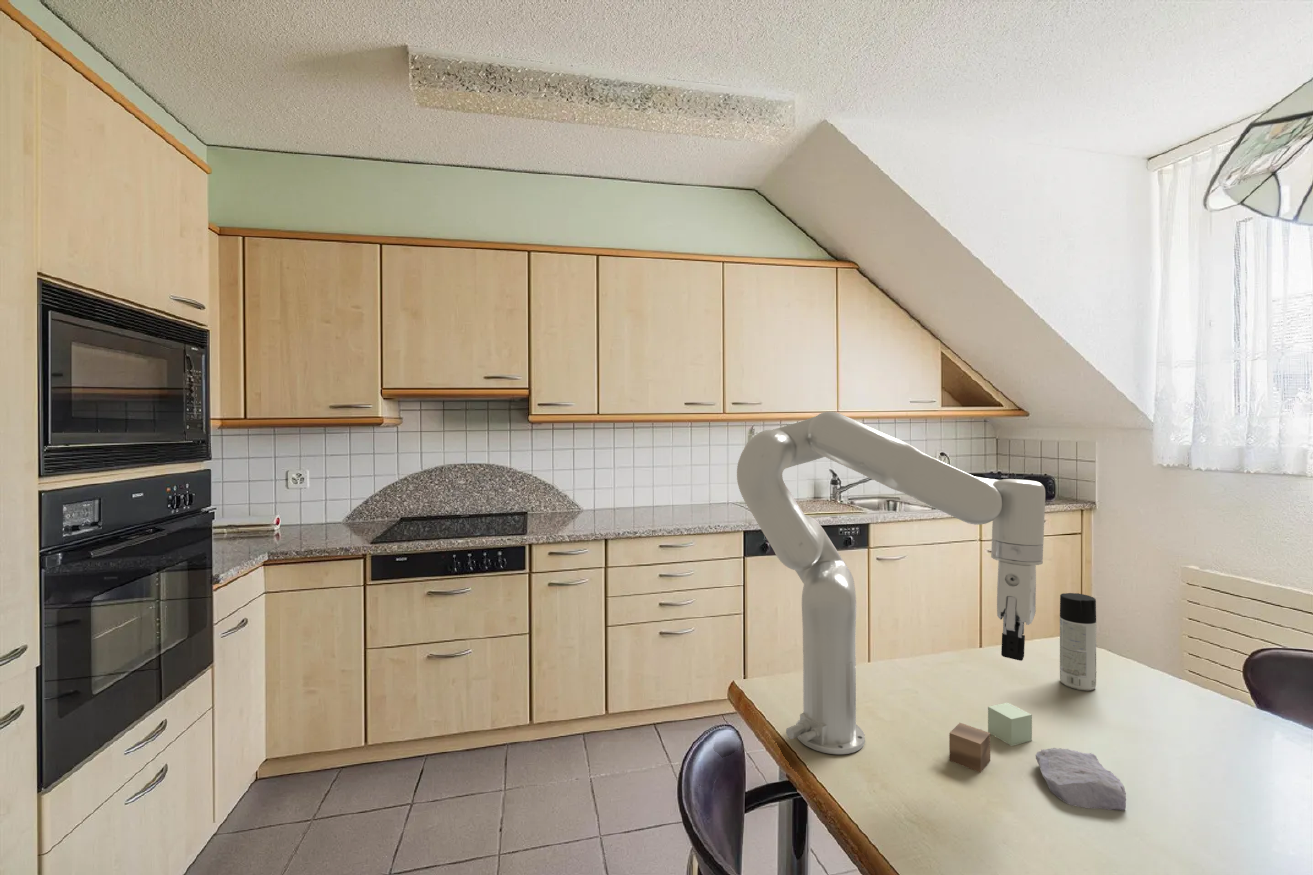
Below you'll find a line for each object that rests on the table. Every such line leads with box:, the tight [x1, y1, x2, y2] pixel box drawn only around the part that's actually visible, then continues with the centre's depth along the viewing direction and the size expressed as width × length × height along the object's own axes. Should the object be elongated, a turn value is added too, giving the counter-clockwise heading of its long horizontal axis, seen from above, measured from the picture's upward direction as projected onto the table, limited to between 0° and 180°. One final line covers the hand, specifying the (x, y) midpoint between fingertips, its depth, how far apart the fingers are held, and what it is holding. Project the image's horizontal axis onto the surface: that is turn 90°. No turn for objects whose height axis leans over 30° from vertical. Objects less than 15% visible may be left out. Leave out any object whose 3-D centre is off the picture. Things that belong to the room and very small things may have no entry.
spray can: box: [1059, 592, 1097, 692], centre depth 130 cm, size 7×7×20 cm
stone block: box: [1035, 747, 1127, 811], centre depth 94 cm, size 12×5×10 cm
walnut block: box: [948, 722, 991, 773], centre depth 101 cm, size 5×5×5 cm
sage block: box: [987, 702, 1033, 747], centre depth 109 cm, size 5×5×5 cm
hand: (1012, 656), depth 100 cm, fingers closed
